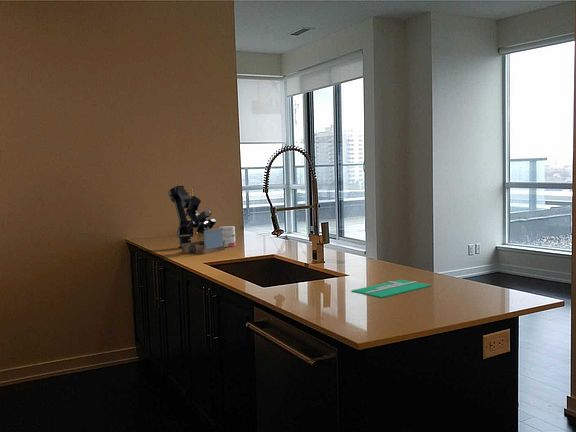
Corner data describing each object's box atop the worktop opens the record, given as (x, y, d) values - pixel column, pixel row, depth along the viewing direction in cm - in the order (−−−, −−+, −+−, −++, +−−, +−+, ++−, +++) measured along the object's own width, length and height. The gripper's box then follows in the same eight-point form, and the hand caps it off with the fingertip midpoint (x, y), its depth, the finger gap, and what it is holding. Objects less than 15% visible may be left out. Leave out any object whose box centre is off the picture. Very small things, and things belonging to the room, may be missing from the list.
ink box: (235, 245, 351) (235, 225, 350) (234, 246, 346) (233, 226, 345) (221, 245, 352) (220, 226, 351) (219, 247, 347) (218, 227, 346)
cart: (179, 252, 331) (179, 244, 331) (202, 247, 346) (202, 240, 346) (203, 254, 321) (202, 246, 320) (226, 249, 336) (225, 241, 335)
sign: (400, 278, 231) (431, 284, 219) (400, 281, 231) (431, 287, 219) (351, 289, 215) (382, 295, 203) (351, 292, 215) (382, 299, 203)
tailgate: (204, 249, 323) (203, 230, 322) (221, 246, 334) (220, 228, 334) (206, 249, 322) (205, 231, 322) (223, 246, 334) (222, 228, 333)
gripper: (189, 207, 323) (205, 227, 318) (212, 204, 338) (228, 224, 333) (180, 221, 329) (195, 241, 323) (203, 218, 344) (218, 237, 338)
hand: (210, 235), depth 329 cm, fingers closed
